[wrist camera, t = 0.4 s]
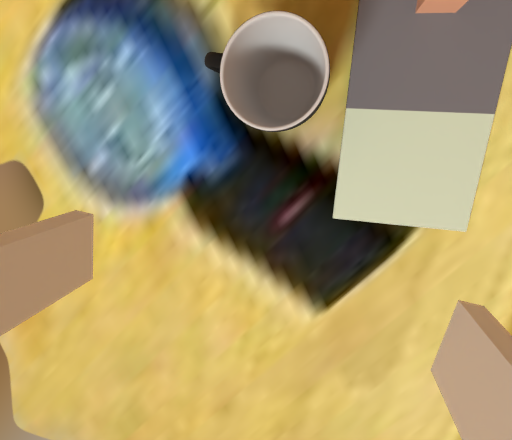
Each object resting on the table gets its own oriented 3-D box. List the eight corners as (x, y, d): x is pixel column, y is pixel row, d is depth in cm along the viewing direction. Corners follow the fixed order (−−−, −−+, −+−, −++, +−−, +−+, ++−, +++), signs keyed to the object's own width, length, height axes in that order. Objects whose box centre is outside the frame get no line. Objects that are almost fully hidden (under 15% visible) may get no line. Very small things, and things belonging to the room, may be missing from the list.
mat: (374, -123, 29) (375, -130, 28) (551, -139, 26) (557, -148, 25) (332, 216, 37) (332, 218, 36) (463, 229, 35) (466, 231, 34)
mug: (341, 59, 33) (348, 27, 23) (311, 143, 36) (307, 145, 26) (234, 28, 34) (199, -14, 25) (213, 111, 37) (175, 102, 27)
